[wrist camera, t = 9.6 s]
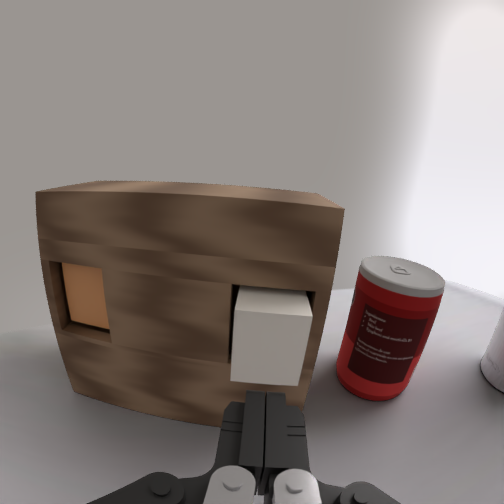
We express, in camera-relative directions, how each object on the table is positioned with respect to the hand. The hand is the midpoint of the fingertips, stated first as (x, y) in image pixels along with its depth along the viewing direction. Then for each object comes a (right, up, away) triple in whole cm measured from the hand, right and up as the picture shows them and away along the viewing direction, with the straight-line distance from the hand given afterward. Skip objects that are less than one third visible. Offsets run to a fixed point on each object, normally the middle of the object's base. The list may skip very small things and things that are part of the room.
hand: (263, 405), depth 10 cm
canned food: (+11, -6, +14) cm, 19 cm away
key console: (-6, -5, +12) cm, 14 cm away
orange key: (-11, +2, +10) cm, 15 cm away
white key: (0, 0, +6) cm, 6 cm away
